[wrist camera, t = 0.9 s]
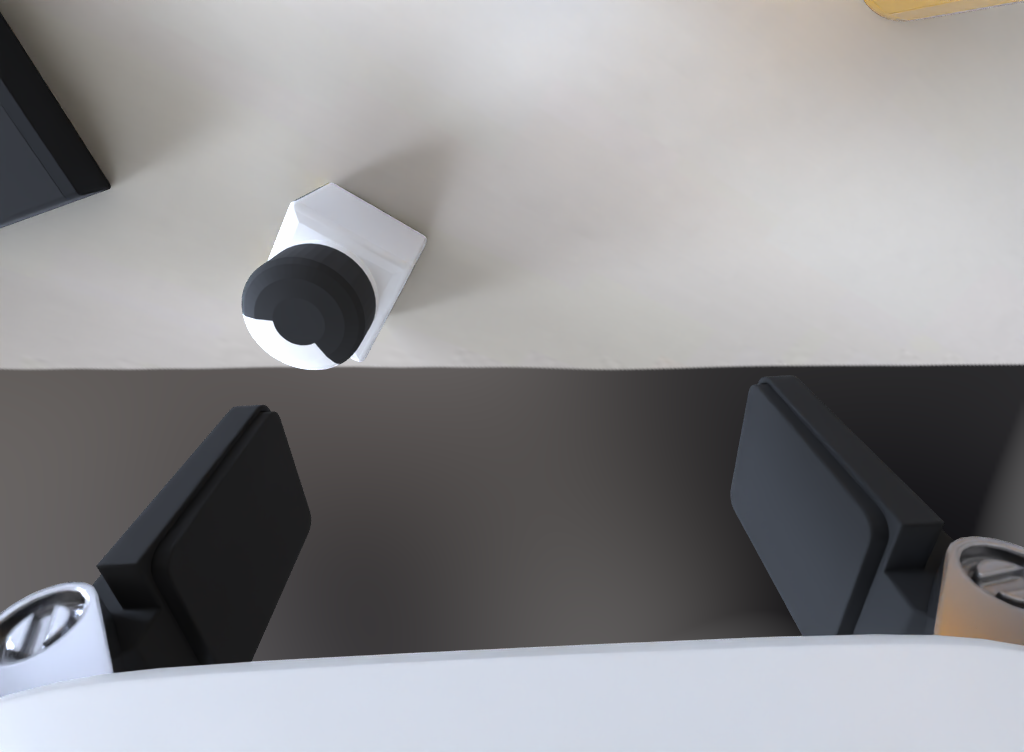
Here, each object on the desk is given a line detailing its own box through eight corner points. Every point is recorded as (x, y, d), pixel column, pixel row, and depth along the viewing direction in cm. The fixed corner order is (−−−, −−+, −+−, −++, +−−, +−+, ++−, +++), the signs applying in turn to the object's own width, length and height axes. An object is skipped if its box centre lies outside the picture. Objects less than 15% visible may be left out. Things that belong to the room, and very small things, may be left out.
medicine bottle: (330, 179, 34) (250, 219, 23) (429, 236, 36) (397, 298, 25) (291, 272, 37) (204, 345, 26) (385, 320, 39) (339, 407, 28)
